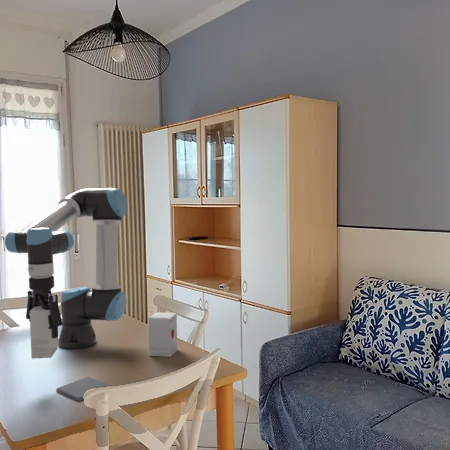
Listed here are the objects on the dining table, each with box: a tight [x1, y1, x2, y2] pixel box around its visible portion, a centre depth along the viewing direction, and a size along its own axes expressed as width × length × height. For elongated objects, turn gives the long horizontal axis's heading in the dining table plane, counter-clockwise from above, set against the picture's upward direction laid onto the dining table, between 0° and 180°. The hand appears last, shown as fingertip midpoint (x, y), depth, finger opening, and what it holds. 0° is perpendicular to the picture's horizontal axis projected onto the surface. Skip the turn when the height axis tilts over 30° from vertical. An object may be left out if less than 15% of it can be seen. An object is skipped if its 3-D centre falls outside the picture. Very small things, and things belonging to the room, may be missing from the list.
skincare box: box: [29, 305, 58, 360], centre depth 155 cm, size 8×7×16 cm
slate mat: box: [55, 376, 112, 402], centre depth 154 cm, size 12×12×1 cm
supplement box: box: [148, 312, 178, 358], centre depth 187 cm, size 9×9×15 cm
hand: (44, 344), depth 156 cm, fingers closed on skincare box, 10 cm apart
